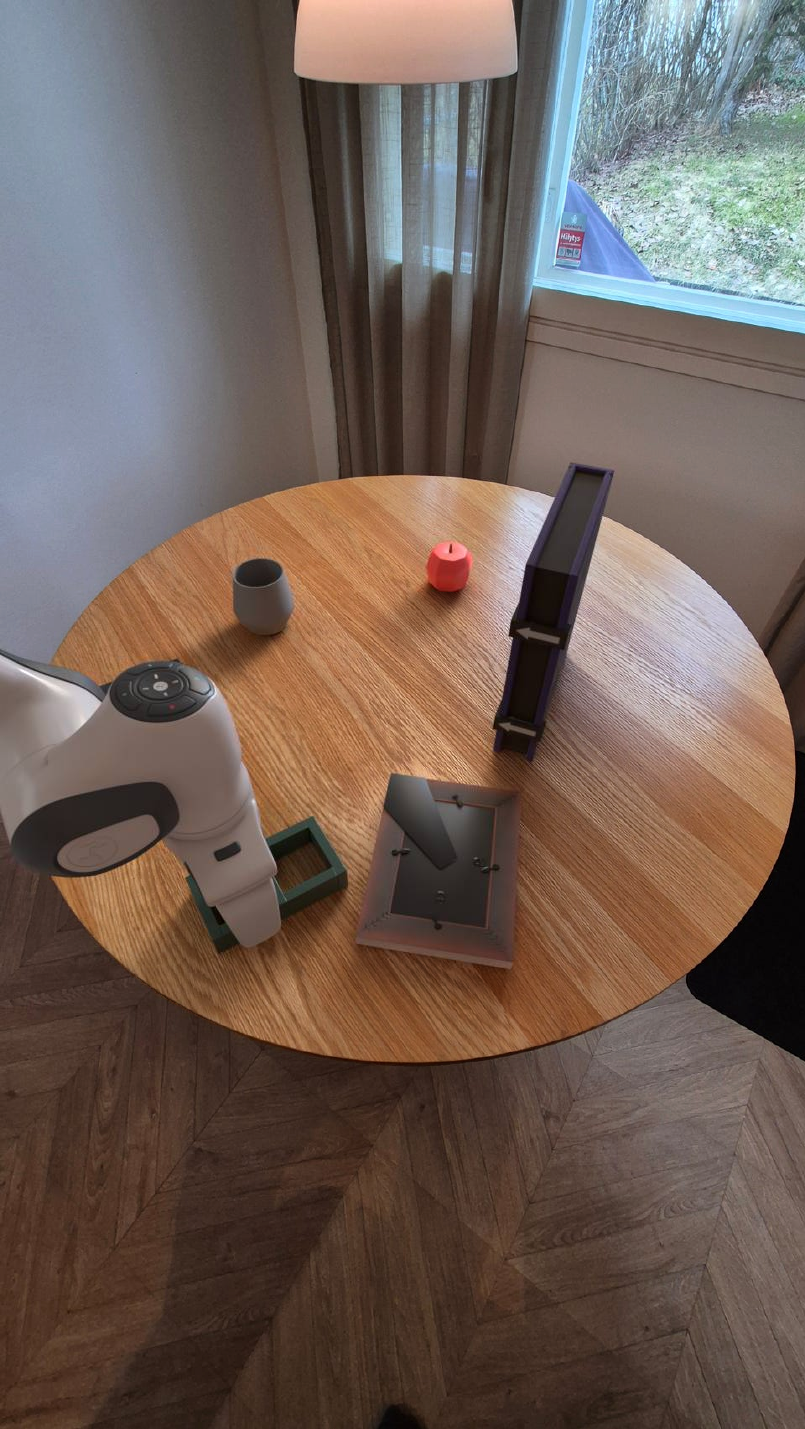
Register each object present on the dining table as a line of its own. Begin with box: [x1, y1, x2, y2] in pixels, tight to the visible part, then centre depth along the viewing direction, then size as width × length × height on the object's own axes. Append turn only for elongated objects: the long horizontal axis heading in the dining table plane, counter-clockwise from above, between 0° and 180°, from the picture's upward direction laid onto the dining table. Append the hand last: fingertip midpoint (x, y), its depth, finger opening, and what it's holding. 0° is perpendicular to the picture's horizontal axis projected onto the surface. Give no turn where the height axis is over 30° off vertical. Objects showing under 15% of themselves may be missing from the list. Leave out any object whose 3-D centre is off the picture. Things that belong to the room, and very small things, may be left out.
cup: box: [232, 557, 295, 636], centre depth 102 cm, size 10×9×10 cm
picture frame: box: [354, 772, 522, 970], centre depth 76 cm, size 16×2×22 cm
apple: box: [425, 541, 474, 593], centre depth 111 cm, size 8×8×8 cm
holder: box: [184, 815, 349, 955], centre depth 74 cm, size 16×8×4 cm, turn 121°
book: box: [492, 462, 615, 763], centre depth 84 cm, size 24×6×30 cm, turn 159°
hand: (233, 883), depth 70 cm, fingers closed on pill bottle, 5 cm apart
